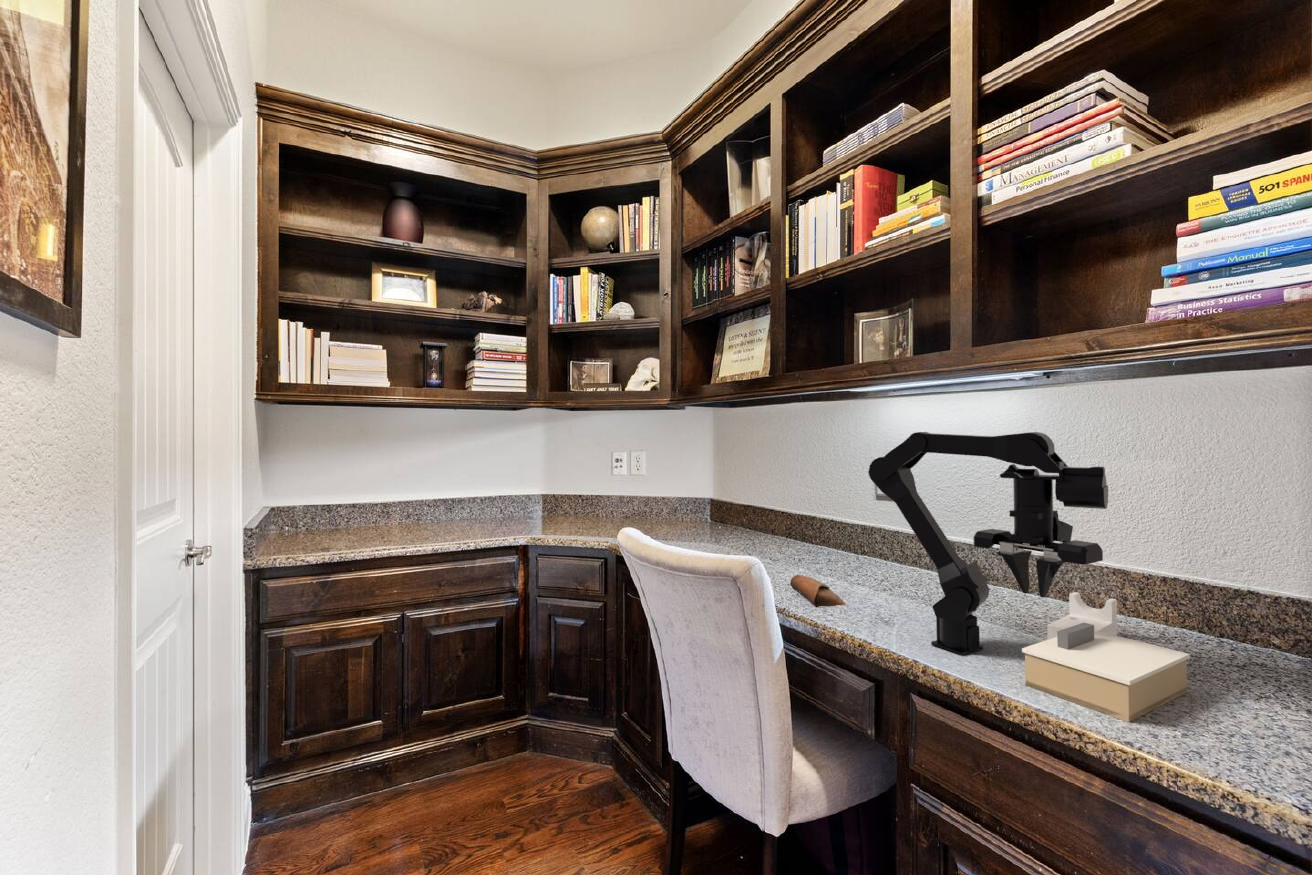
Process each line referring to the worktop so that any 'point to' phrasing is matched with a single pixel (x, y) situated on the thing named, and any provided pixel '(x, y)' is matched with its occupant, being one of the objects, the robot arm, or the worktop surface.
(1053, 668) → the box
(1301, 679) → the worktop surface
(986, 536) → the robot arm
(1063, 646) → the lid
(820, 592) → the sunglasses case
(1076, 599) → the bracket
